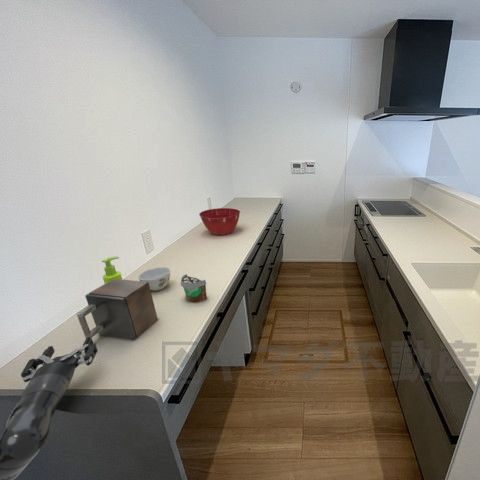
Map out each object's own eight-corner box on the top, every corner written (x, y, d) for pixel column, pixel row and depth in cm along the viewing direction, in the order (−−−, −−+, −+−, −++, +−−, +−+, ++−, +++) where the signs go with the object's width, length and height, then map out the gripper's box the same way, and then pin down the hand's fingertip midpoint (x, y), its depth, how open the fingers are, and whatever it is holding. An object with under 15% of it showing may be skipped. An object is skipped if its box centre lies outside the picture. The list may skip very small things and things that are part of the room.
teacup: (154, 280, 130) (151, 266, 127) (178, 282, 128) (175, 267, 126) (131, 297, 116) (126, 281, 113) (158, 299, 114) (154, 283, 112)
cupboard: (137, 338, 92) (125, 297, 86) (102, 333, 94) (88, 293, 88) (158, 320, 101) (148, 281, 95) (126, 316, 103) (114, 278, 97)
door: (121, 352, 86) (107, 309, 80) (84, 346, 88) (68, 304, 82) (136, 338, 92) (124, 297, 86) (102, 334, 94) (87, 293, 88)
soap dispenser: (133, 298, 115) (121, 257, 108) (116, 307, 109) (103, 263, 102) (125, 295, 117) (113, 254, 110) (108, 303, 111) (94, 260, 104)
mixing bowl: (247, 227, 210) (245, 208, 205) (233, 239, 184) (230, 218, 178) (213, 225, 213) (211, 207, 207) (194, 237, 186) (191, 216, 181)
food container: (177, 300, 114) (173, 279, 111) (189, 293, 119) (185, 273, 116) (197, 307, 109) (193, 286, 106) (209, 299, 114) (205, 279, 111)
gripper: (13, 410, 62) (43, 361, 76) (88, 387, 68) (104, 346, 82) (0, 387, 60) (33, 341, 73) (79, 365, 66) (97, 326, 79)
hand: (71, 343), depth 78 cm, fingers open, 8 cm apart
